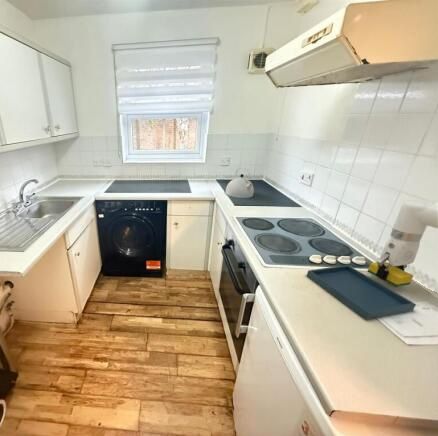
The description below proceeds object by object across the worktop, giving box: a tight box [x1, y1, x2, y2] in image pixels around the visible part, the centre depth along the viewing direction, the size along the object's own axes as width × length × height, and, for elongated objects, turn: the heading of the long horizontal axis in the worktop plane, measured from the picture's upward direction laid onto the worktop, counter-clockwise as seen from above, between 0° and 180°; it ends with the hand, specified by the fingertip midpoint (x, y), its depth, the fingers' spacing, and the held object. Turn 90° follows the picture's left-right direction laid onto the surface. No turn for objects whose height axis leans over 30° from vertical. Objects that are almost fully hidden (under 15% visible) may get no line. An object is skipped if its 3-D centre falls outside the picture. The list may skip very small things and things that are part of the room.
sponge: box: [367, 261, 415, 288], centre depth 91 cm, size 10×6×4 cm, turn 12°
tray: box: [306, 264, 417, 321], centre depth 88 cm, size 20×24×3 cm
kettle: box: [224, 166, 255, 199], centre depth 198 cm, size 25×23×22 cm
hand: (388, 276), depth 91 cm, fingers closed on sponge, 6 cm apart
